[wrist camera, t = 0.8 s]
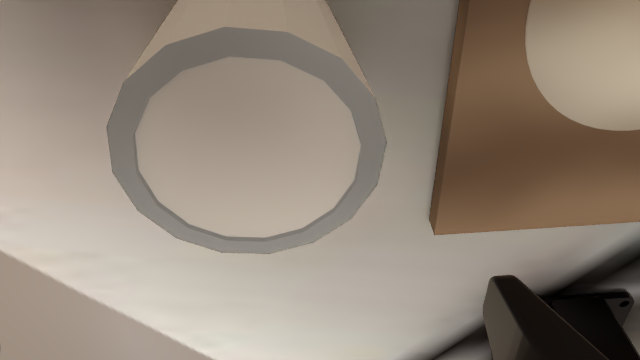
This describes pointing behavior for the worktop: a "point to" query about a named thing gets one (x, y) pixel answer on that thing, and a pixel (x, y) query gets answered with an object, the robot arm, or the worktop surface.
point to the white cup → (247, 126)
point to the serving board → (540, 117)
